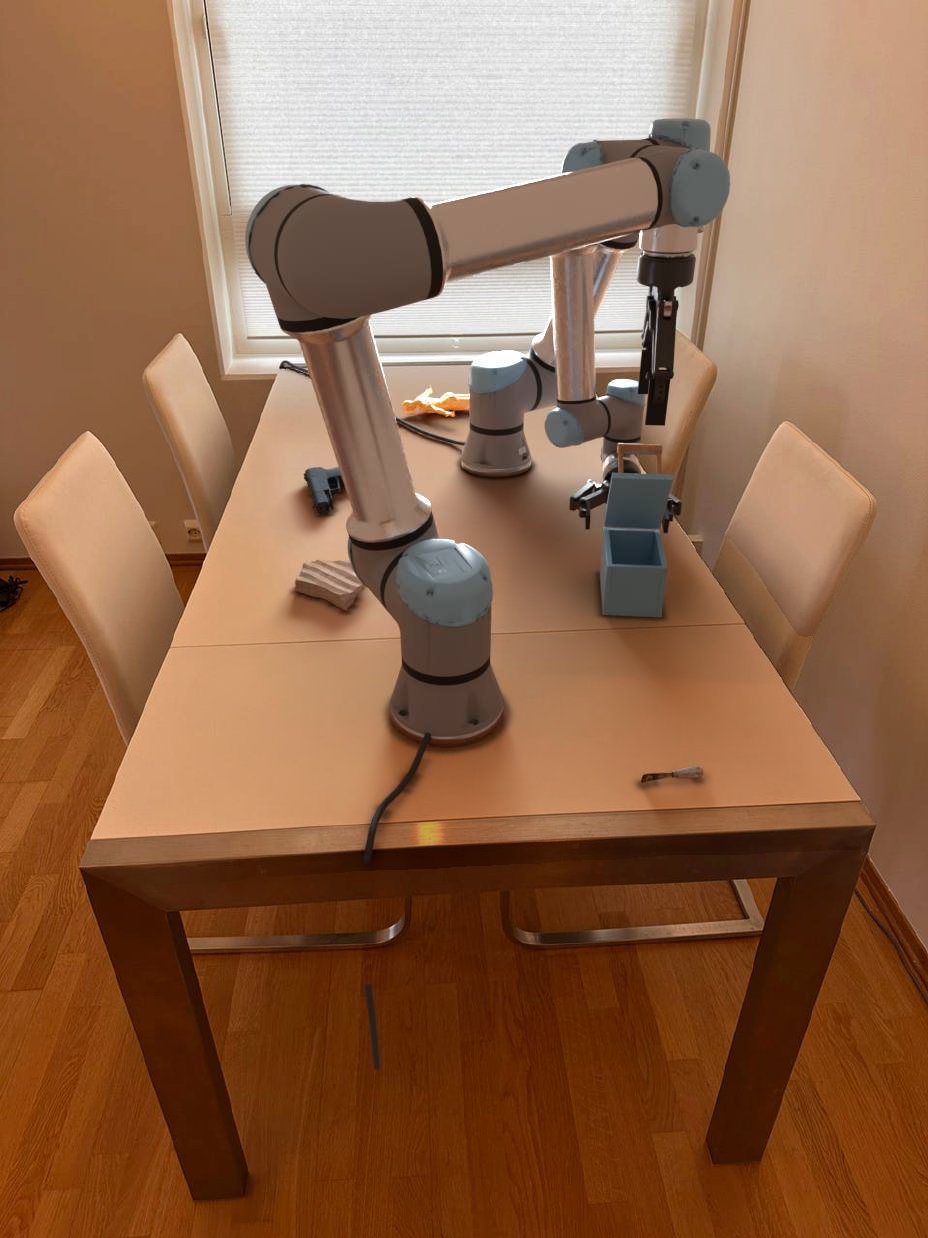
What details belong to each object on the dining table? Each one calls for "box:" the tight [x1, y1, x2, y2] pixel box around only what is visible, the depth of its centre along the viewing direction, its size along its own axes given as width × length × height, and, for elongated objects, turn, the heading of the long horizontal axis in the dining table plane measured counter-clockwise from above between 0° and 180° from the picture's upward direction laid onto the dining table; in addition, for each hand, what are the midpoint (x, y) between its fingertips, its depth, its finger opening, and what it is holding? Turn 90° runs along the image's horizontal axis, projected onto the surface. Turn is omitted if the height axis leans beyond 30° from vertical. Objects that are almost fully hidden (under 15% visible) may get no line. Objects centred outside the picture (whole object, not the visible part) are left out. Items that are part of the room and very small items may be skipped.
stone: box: [294, 559, 366, 611], centre depth 149 cm, size 13×12×3 cm
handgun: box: [303, 466, 345, 515], centre depth 181 cm, size 3×18×12 cm
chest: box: [599, 527, 669, 618], centre depth 145 cm, size 14×9×9 cm
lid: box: [603, 443, 674, 530], centre depth 143 cm, size 14×9×9 cm
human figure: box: [402, 385, 469, 418], centre depth 225 cm, size 20×20×4 cm
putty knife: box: [640, 765, 705, 784], centre depth 109 cm, size 1×8×2 cm, turn 103°
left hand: (650, 408), depth 129 cm, fingers open, 13 cm apart
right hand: (627, 524), depth 156 cm, fingers open, 13 cm apart
